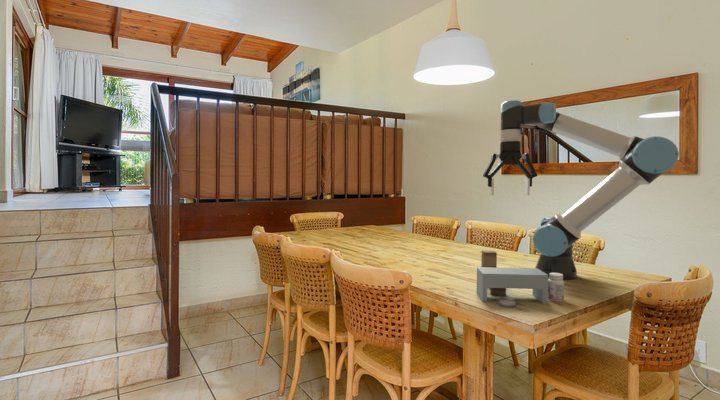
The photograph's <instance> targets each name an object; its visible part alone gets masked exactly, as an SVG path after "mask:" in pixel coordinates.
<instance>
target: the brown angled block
mask: <svg viewBox="0 0 720 400" xmlns="http://www.w3.org/2000/svg"><path fill="white" fill-rule="evenodd" d="M497 254H498V253H497V251H496V250H494V249H493V250H492V249H490V250H488V249H482V250H481V265H480V267H493V268H498V267H497V259H498V255H497ZM489 290H490V292H489V293H490V295H503V296H504V295H507V288H489Z"/></svg>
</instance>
